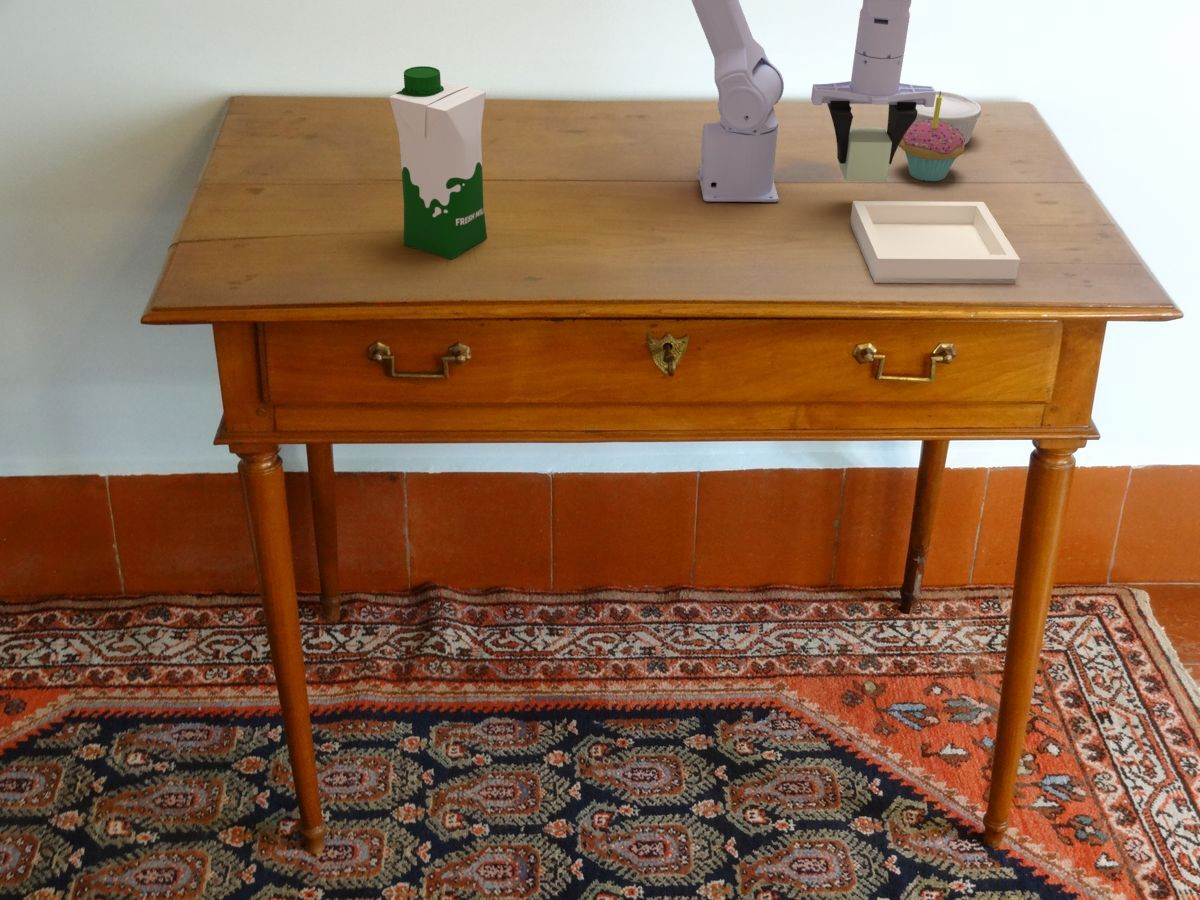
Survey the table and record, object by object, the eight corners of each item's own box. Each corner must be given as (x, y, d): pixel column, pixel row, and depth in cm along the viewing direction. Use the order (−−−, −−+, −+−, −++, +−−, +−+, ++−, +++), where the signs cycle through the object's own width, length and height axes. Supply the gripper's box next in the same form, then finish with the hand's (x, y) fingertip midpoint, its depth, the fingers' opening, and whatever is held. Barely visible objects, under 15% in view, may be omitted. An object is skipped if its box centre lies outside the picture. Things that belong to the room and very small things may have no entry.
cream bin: (874, 282, 152) (877, 258, 150) (850, 223, 165) (852, 200, 164) (1015, 283, 153) (1020, 259, 151) (979, 224, 166) (983, 201, 164)
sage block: (845, 181, 165) (850, 142, 162) (839, 165, 169) (843, 127, 166) (886, 181, 165) (892, 142, 162) (878, 165, 169) (884, 127, 167)
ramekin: (986, 136, 192) (992, 100, 189) (958, 160, 184) (964, 123, 181) (911, 120, 196) (917, 84, 194) (881, 143, 189) (886, 106, 186)
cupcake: (959, 189, 175) (975, 99, 168) (893, 183, 176) (906, 94, 170) (958, 165, 182) (973, 77, 175) (894, 159, 183) (907, 72, 177)
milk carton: (438, 220, 164) (429, 57, 153) (498, 238, 160) (494, 72, 149) (392, 246, 158) (379, 78, 147) (454, 265, 154) (446, 94, 143)
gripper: (823, 61, 155) (810, 172, 163) (948, 63, 156) (929, 174, 163) (814, 42, 161) (801, 150, 169) (934, 44, 161) (917, 152, 169)
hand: (864, 160), depth 166 cm, fingers closed on sage block, 5 cm apart
